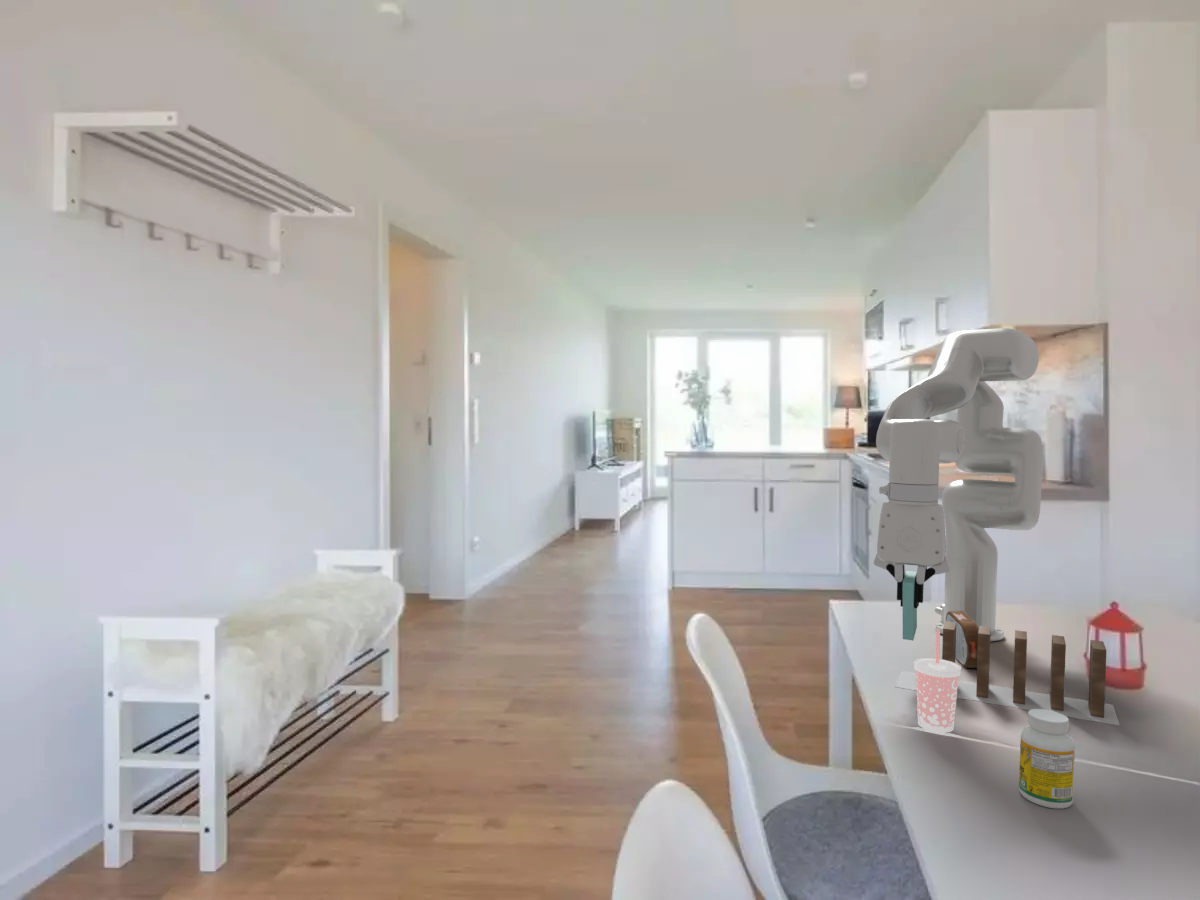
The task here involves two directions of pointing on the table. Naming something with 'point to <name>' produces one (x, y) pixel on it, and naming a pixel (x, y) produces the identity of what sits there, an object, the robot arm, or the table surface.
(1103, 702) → the domino
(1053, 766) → the supplement bottle
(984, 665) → the domino
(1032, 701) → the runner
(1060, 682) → the domino
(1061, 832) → the table surface
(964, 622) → the tin
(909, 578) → the domino
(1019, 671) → the domino
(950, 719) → the beverage cup
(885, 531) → the robot arm
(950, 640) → the domino
